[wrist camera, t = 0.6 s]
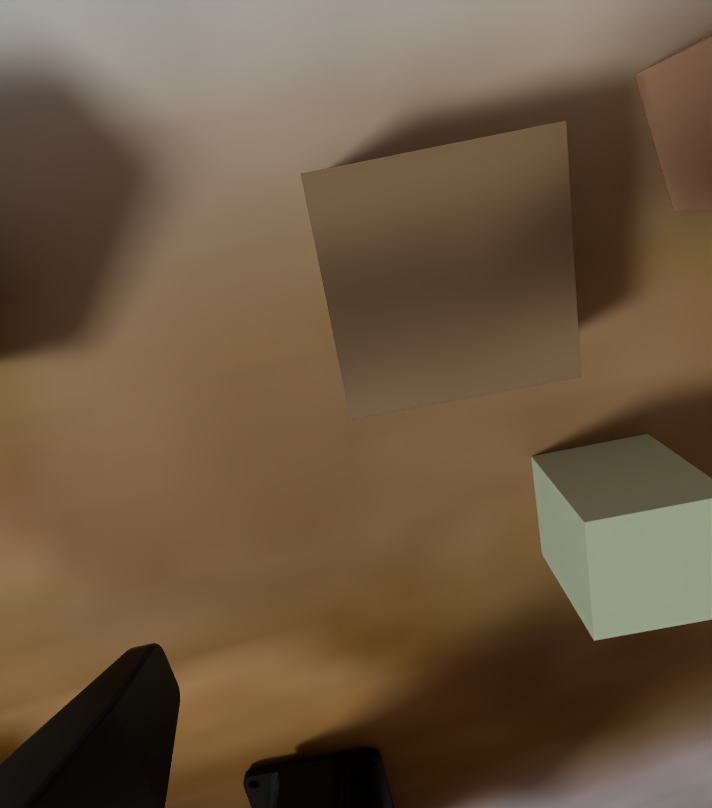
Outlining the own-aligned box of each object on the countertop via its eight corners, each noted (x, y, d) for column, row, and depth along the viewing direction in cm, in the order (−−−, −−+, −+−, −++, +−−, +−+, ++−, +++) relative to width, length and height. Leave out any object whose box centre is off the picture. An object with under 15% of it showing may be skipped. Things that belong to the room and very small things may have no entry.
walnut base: (536, 347, 20) (581, 376, 17) (348, 382, 21) (350, 419, 17) (519, 140, 18) (566, 120, 14) (309, 183, 18) (301, 173, 15)
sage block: (650, 533, 23) (732, 615, 18) (541, 553, 23) (593, 640, 18) (646, 433, 21) (734, 493, 17) (530, 455, 22) (584, 522, 17)
